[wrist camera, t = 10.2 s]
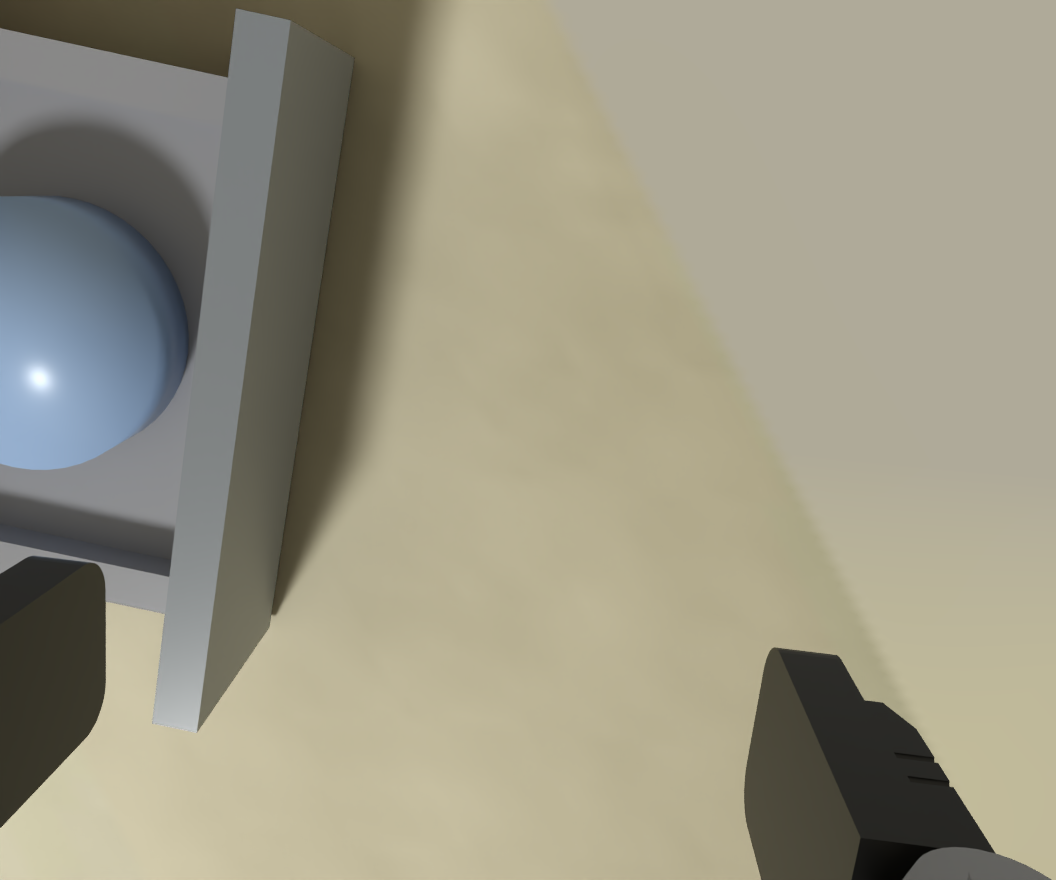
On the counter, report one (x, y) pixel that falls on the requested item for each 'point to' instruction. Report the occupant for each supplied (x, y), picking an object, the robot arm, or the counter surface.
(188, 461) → the tray
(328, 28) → the counter surface
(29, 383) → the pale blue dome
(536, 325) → the counter surface
